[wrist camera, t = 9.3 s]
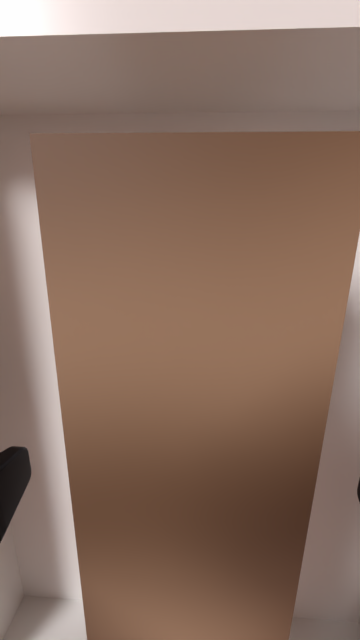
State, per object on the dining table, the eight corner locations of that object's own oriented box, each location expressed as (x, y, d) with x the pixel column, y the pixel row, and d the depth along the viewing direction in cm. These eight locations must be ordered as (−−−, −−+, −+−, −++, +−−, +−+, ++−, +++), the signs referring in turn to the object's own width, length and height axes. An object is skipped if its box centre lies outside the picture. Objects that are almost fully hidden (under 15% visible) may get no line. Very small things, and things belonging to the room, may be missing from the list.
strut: (237, 585, 12) (264, 828, 7) (138, 578, 12) (98, 808, 7) (273, 196, 8) (397, 131, 3) (124, 196, 8) (10, 134, 3)
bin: (508, 79, 8) (831, -83, 4) (365, 611, 13) (434, 766, 9) (-80, 89, 8) (-313, -35, 5) (18, 583, 14) (-50, 715, 10)
